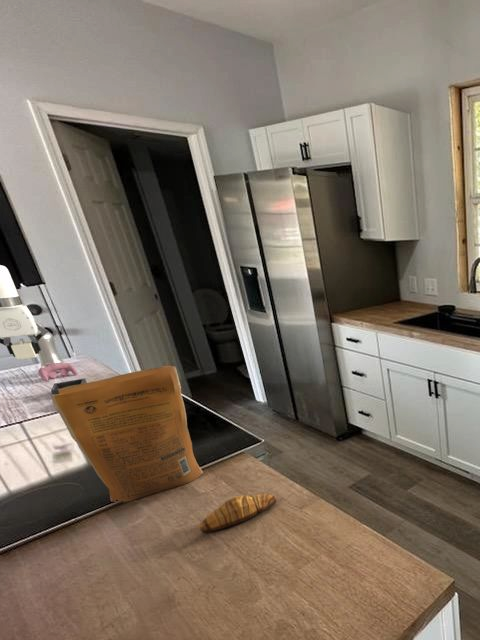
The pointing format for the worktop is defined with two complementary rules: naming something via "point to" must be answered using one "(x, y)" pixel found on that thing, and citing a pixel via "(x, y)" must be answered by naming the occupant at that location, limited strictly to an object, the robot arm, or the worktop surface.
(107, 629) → the worktop surface
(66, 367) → the video game controller
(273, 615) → the worktop surface
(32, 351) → the charger head
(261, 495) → the croissant
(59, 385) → the adapter
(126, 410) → the pancake mix bag
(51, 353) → the plastic bottle
